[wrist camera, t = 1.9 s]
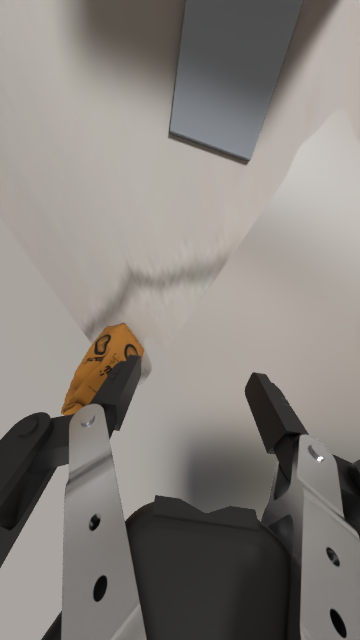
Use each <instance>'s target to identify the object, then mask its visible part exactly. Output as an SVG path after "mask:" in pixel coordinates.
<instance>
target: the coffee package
mask: <svg viewBox="0 0 360 640" xmlns="http://www.w3.org/2000/svg"><path fill="white" fill-rule="evenodd" d="M143 352H144V349H143V347H142V346H141V344H140V343H139V342H138V340H137V339H136V337H135V336H134V334H133V333H132V332H131V331H130V329H129V328H128V327H127V326H126V324H125V323H122V324H120V325H116V326H108V327H106V328H105V329H104V330H103V332H102V333H101V334H100V335H99V337H98V338H97V339H96V340H95V342H94V343H93V344H92V346H91V347H90V349H89V350H88V352H87V354H86V355H85V357H84V359H83V360H82V362H81V364H80V365H79V367H78V369H77V370H76V372H75V375H74V378H73V380H72V382H71V385H70V388H69V390H68V393H67V395H66V398H65V403H64V405H63V407H62V411H61V413H62V414H63V415H65V416H66V415H71V414H74V413H76V412H77V411H78V410H80V409H81V408H83V407H84V406H87V405H88V404H89V403H90V402H91V400H92V399H93V397H94V396H95V394H96V393H97V391H98V390H99V388H100V387H101V385H102V384H103V382H104V381H105V379H106V378H107V376H108V374H110V371H111V370H112V368H113V367H114V365H116V364H117V363H118V362H120V361H126V360H127V358H128V356H129V355H130V354H133V355H140V356H141V361H142V356H143Z"/></svg>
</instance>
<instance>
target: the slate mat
mask: <svg viewBox="0 0 360 640" xmlns="http://www.w3.org/2000/svg"><path fill="white" fill-rule="evenodd" d="M303 2H304V0H186V2H185V11H184V19H183V27H182V35H181V43H180V52H179V60H178V68H177V76H176V84H175V92H174V101H173V109H172V117H171V125H170V133H171V134H174V135H177V136H180V137H183V138H185V139H188V140H191V141H194V142H197V143H199V144H202V145H205V146H208V147H211V148H213V149H216V150H219V151H222V152H224V153H227V154H230V155H233V156H236V157H238V158H241V159H244V160H247V161H250V160H251V157H252V154H253V151H254V148H255V145H256V142H257V139H258V136H259V133H260V130H261V127H262V124H263V121H264V118H265V115H266V112H267V109H268V106H269V103H270V100H271V97H272V94H273V92H274V89H275V86H276V83H277V80H278V77H279V74H280V71H281V68H282V65H283V62H284V59H285V56H286V53H287V50H288V47H289V44H290V41H291V38H292V35H293V32H294V29H295V26H296V23H297V20H298V17H299V14H300V11H301V8H302V5H303Z"/></svg>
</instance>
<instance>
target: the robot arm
mask: <svg viewBox="0 0 360 640" xmlns="http://www.w3.org/2000/svg"><path fill="white" fill-rule="evenodd" d="M140 375H141V356H140V355H133V354H130V355H129V356H128V358H127V360H126V361H120V362H118V363H117V364H116V365H114V367H113V368H112V370H111V371H110V374H108V376H107V378H106V379H105V381H104V382H103V384H102V385H101V387H100V388H99V390H98V391H97V393H96V394H95V396H94V397H93V399H92V400H91V402H90V403H89V404H88V405H87V406H84V407H83V408H81V409H80V410H78V411H77V412H76V413H74V414H71V415H66V416H61V417H56V418H50V416H49V415H48V414H47V413H44V412H39V413H34V414H32V415H29V416H27V417H25V418H23V419H22V420H20V421H19V422H18V423H16V424H15V425H14V426H13V427H12V428H11V429H10V430H9V431H8V432H7V433H6V435H5V436H4V437H3V438H2V439H1V440H0V568H1V566H2V564H3V562H4V560H5V559H6V557H7V555H8V553H9V552H10V550H11V548H12V546H13V544H14V543H15V541H16V539H17V537H18V536H19V534H20V532H21V530H22V528H23V527H24V525H25V523H26V521H27V520H28V518H29V516H30V514H31V513H32V511H33V509H34V507H35V505H36V503H37V502H38V500H39V498H40V497H41V495H42V493H43V491H44V489H45V488H46V486H47V484H48V482H49V481H50V479H51V477H52V475H53V473H54V472H55V470H56V468H57V467H58V466H62V465H66V464H69V479H68V482H67V484H66V488H65V498H64V499H65V500H64V543H63V545H64V546H63V588H62V611H61V613H60V614H59V615H58V616H57V618H56V620H55V621H54V622H53V624H52V625H51V626H50V628H49V629H48V631H47V632H46V634H45V635H44V636H43V638H42V639H41V640H360V460H358V461H356V462H354V463H353V464H352V463H350V462H348V461H346V460H344V459H341V458H339V457H337V456H335V455H333V454H331V452H330V451H329V450H328V449H327V448H326V446H325V445H323V444H322V443H321V442H320V441H319V440H317V439H316V438H314V437H312V436H310V435H309V434H308V433H307V431H306V430H305V428H304V426H303V425H302V423H301V422H300V420H299V419H298V417H297V415H296V414H295V412H294V411H293V409H292V408H291V406H290V405H289V403H288V401H287V400H286V399H285V397H284V395H283V393H282V392H281V390H280V389H279V388H278V387H277V386H275V384H274V383H271V382H270V380H269V378H268V377H267V375H266V374H261V373H252V375H251V377H250V379H249V381H248V383H247V385H246V387H245V395H246V398H247V401H248V403H249V406H250V409H251V412H252V414H253V417H254V419H255V422H256V425H257V427H258V430H259V433H260V435H261V438H262V440H263V443H264V446H265V449H266V451H267V453H270V454H276V456H277V459H278V460H277V461H276V463H275V469H274V475H273V481H272V486H271V492H270V498H269V502H268V504H267V506H266V508H265V510H264V513H263V515H262V519H261V522H260V521H259V520H258V519H257V516H256V512H255V510H253V509H247V508H240V507H232V506H229V507H226V508H223V509H220V510H217V511H214V512H210V513H203V512H202V511H200V510H198V509H197V508H195V507H193V506H191V505H190V504H188V503H186V502H185V501H182V500H181V499H177V498H171V497H164V496H157V495H156V496H155V501H154V502H152V503H149V504H147V505H144V506H142V507H141V508H139V509H138V510H137V511H135V512H134V513H133V514H132V515H131V516H130V517H129V518H128V519H127V520H126V521H125V520H124V515H123V510H122V505H121V499H120V494H119V489H118V483H117V478H116V473H115V467H114V462H113V456H112V451H111V446H110V437H111V435H112V433H113V431H114V430H117V431H119V430H120V428H121V425H122V422H123V420H124V417H125V415H126V412H127V410H128V407H129V405H130V402H131V400H132V397H133V394H134V392H135V389H136V387H137V384H138V382H139V379H140Z"/></svg>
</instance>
